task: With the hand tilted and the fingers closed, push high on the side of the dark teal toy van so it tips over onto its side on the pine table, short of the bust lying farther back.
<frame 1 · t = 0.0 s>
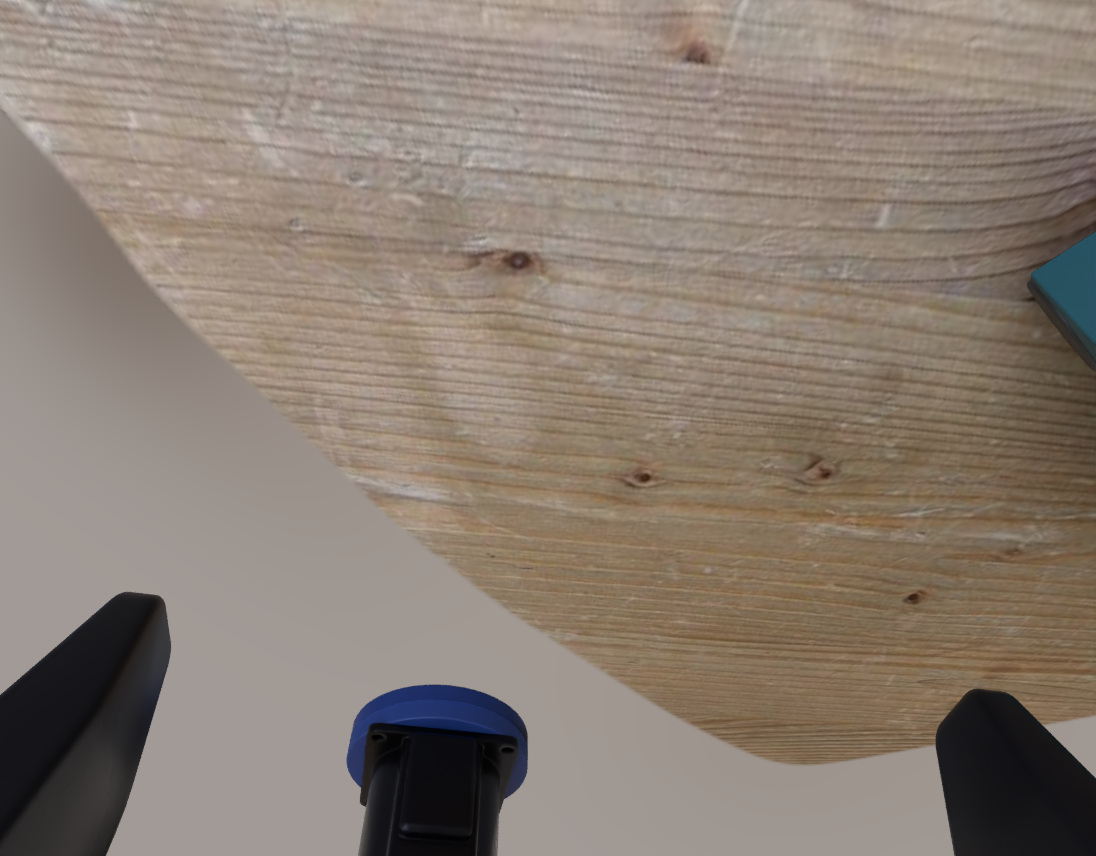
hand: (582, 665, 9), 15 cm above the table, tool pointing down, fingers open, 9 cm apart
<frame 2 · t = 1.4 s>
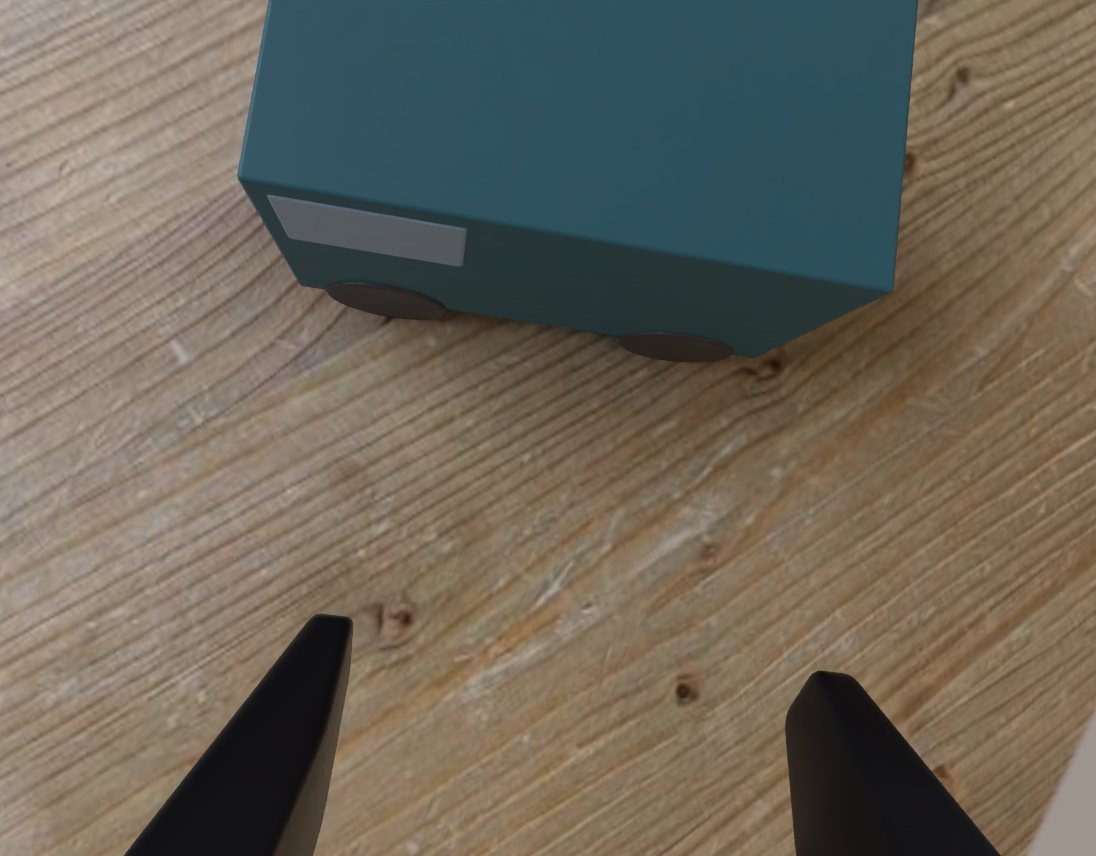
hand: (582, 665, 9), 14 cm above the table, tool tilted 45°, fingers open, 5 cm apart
toy van: (541, 231, 24), on the table
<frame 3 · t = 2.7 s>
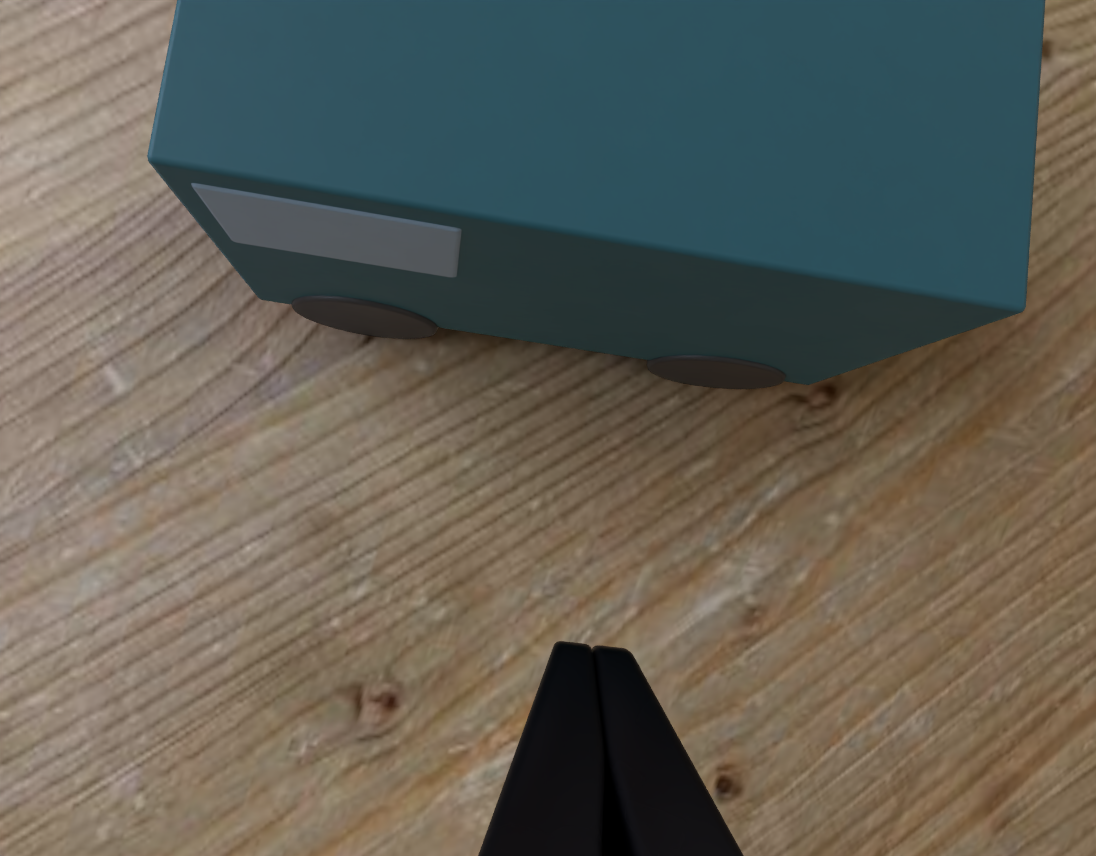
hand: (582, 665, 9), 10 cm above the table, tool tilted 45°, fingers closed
toy van: (552, 233, 20), on the table
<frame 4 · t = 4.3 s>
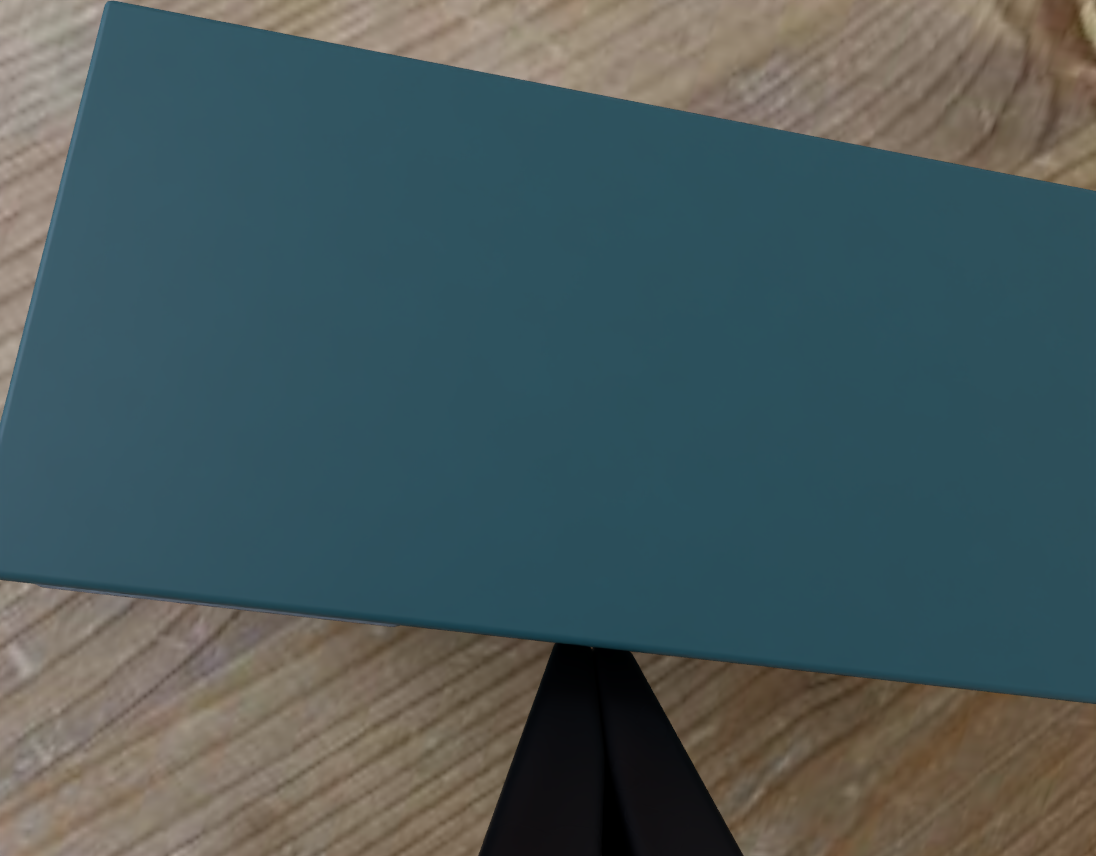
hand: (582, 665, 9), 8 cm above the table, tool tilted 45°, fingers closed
toy van: (532, 466, 17), on the table
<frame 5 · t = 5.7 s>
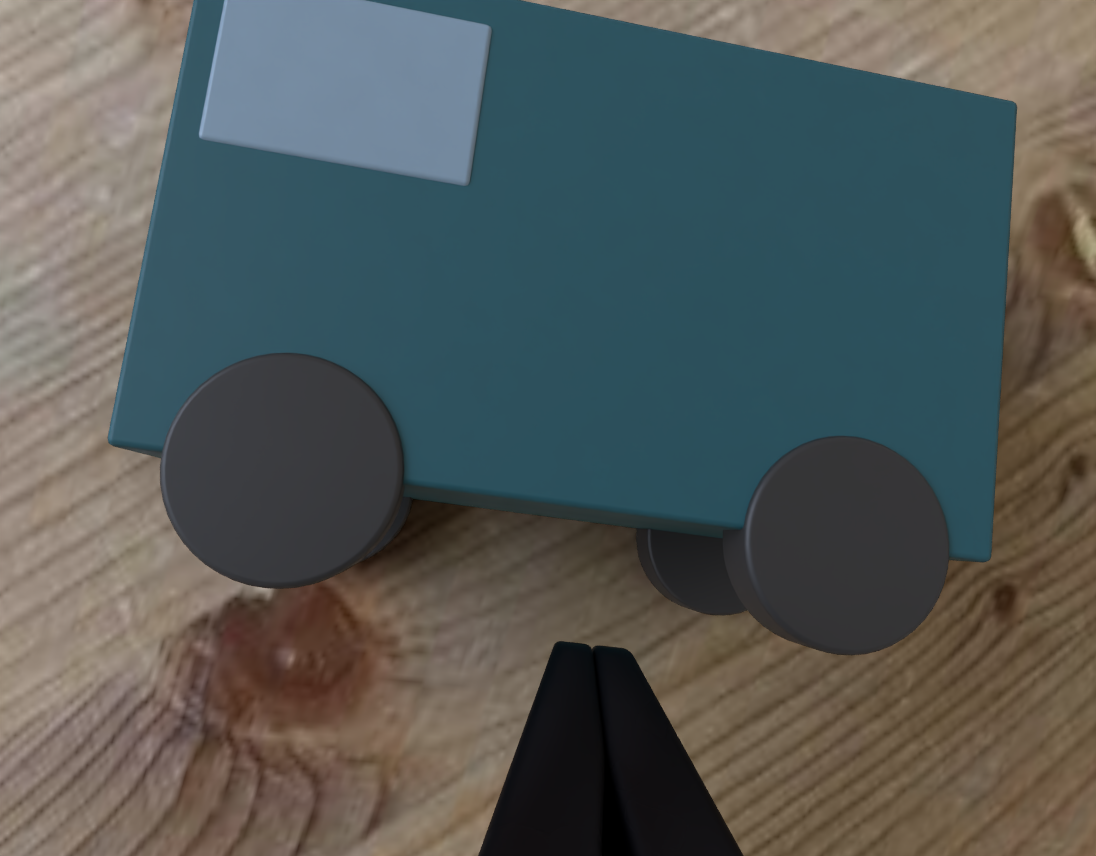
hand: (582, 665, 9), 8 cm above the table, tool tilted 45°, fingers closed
toy van: (535, 602, 14), point 3 cm above the table, tilted 91°
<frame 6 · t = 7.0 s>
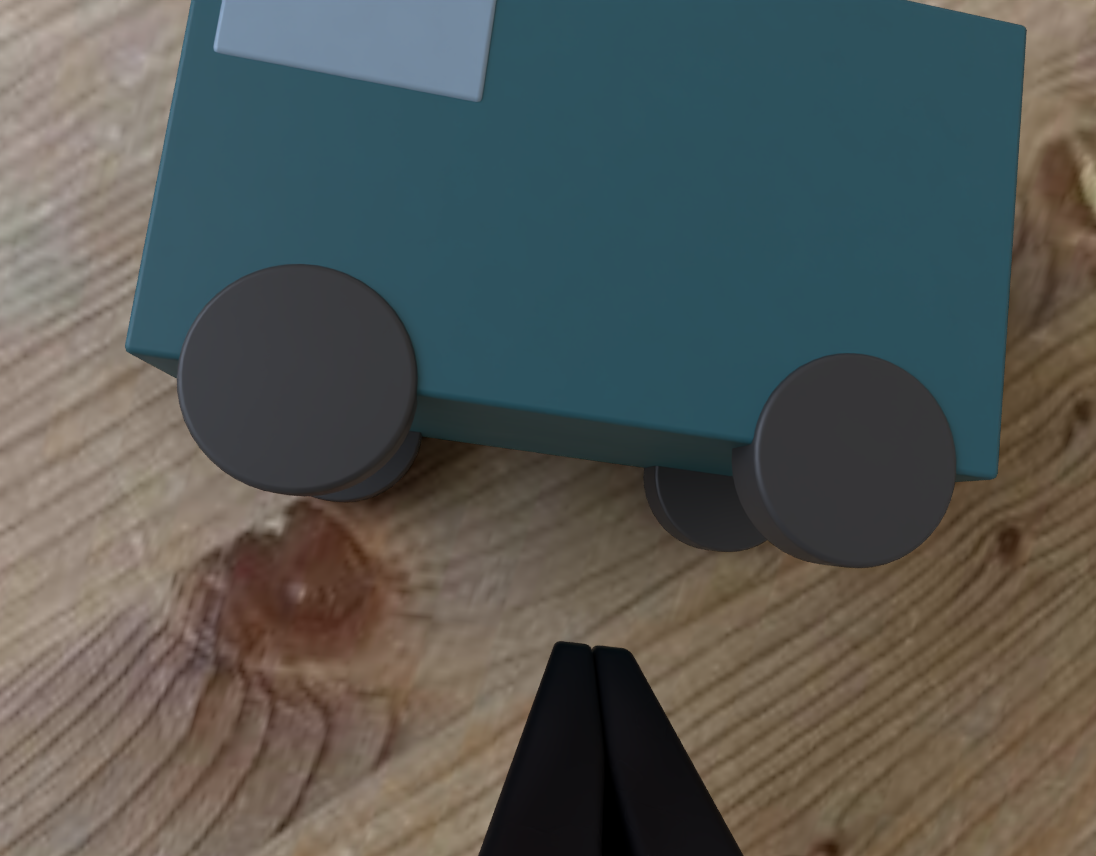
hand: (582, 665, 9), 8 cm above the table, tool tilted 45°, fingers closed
toy van: (544, 528, 14), point 3 cm above the table, tilted 91°
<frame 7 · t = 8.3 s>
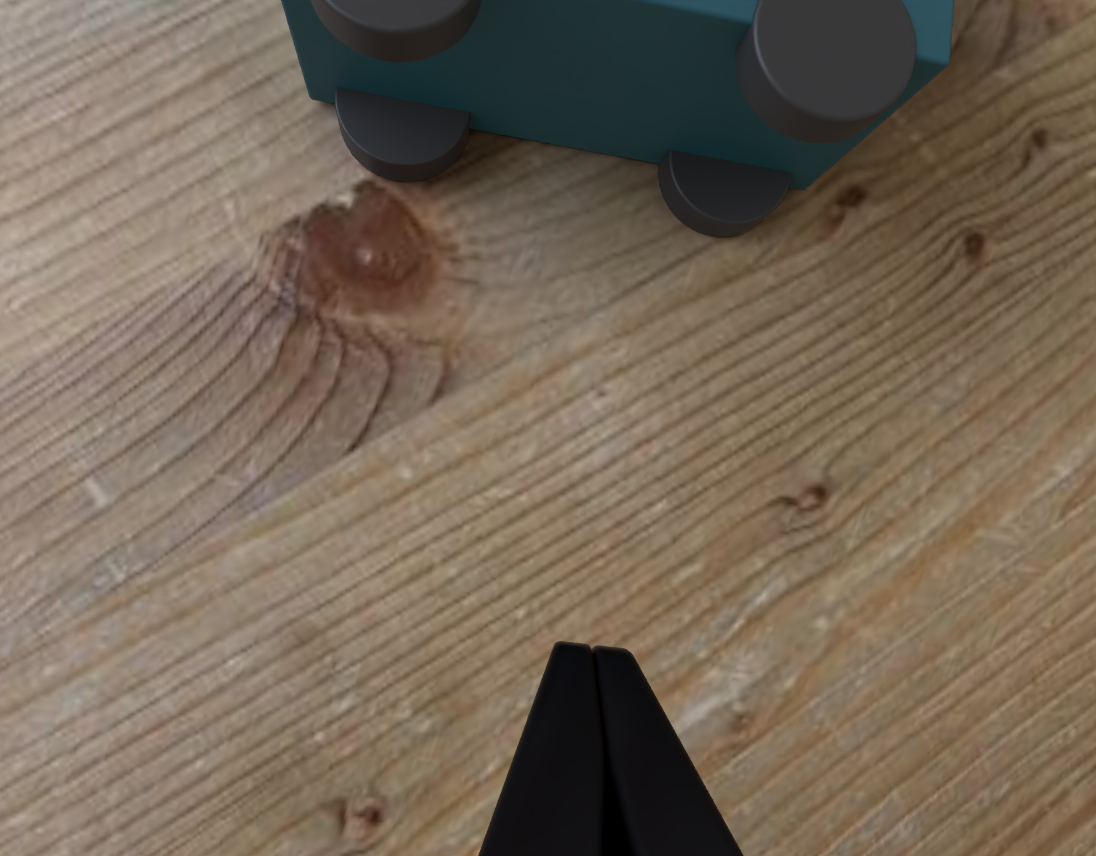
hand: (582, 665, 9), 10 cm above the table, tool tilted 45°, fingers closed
toy van: (579, 155, 17), point 3 cm above the table, tilted 91°
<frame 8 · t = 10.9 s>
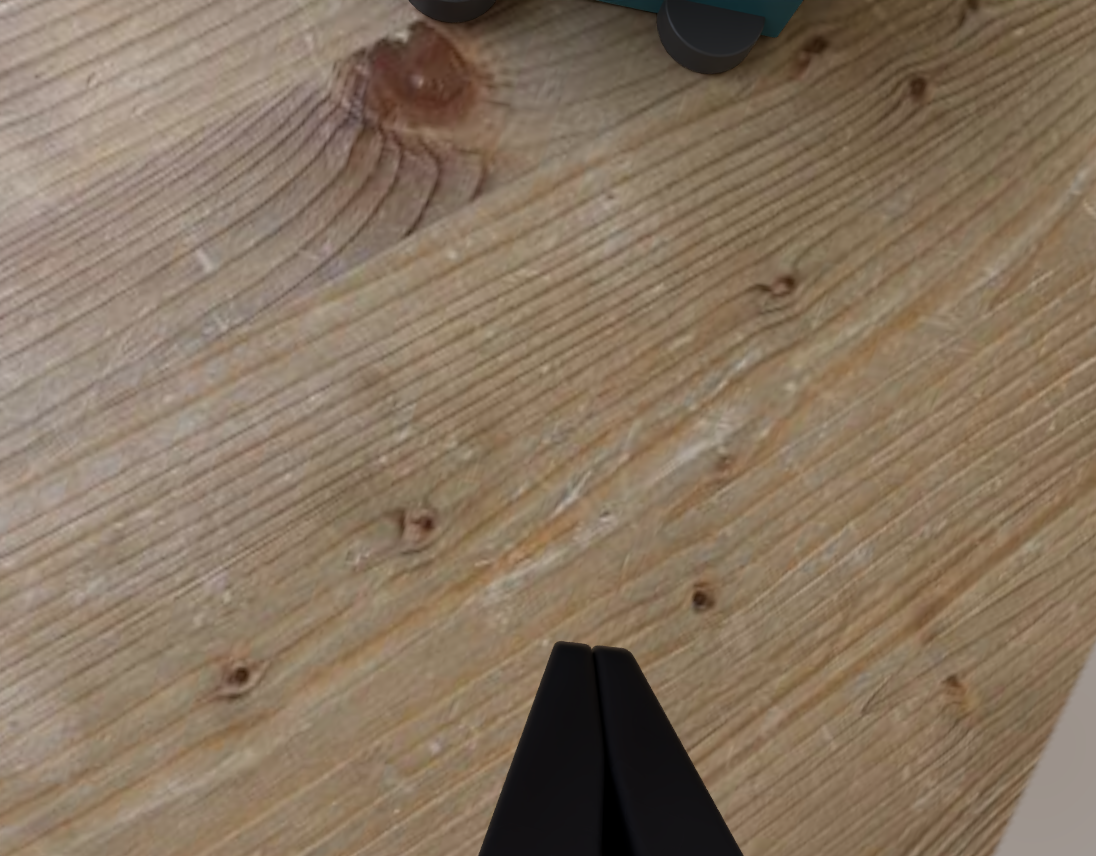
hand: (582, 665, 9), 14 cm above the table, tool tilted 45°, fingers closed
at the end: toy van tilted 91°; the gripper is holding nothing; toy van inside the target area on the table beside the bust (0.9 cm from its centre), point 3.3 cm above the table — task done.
